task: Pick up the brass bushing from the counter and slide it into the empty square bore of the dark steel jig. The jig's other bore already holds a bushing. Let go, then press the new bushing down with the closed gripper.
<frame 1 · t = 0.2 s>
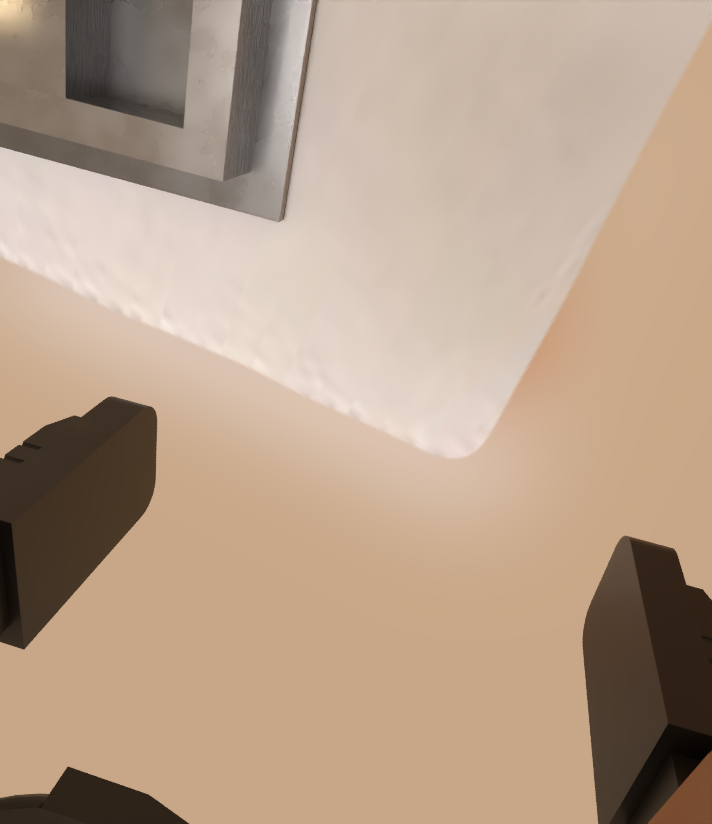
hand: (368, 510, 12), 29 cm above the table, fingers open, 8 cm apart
jig: (79, 22, 37), on the table
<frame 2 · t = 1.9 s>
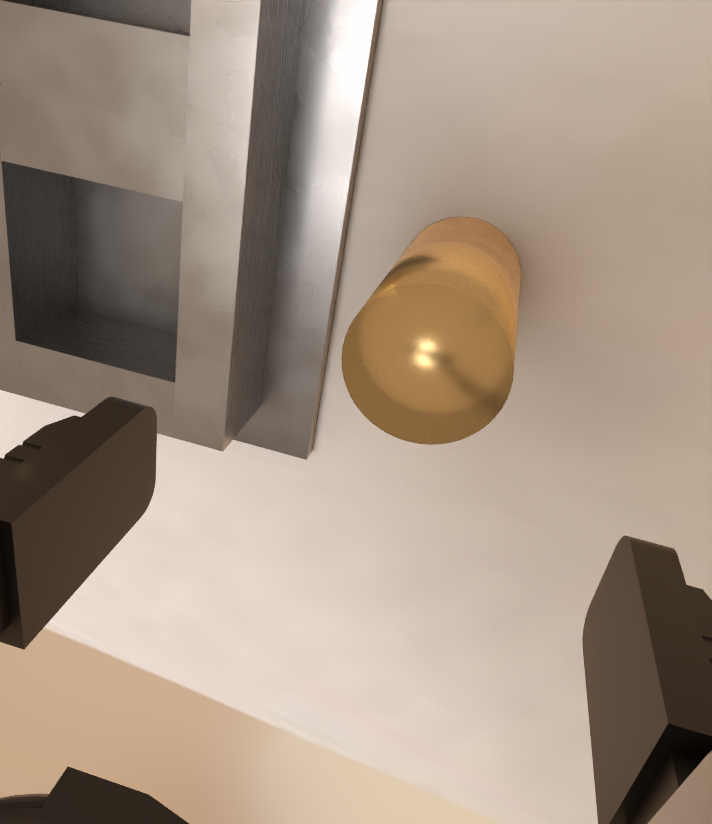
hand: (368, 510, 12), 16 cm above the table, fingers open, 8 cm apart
jig: (164, 99, 25), on the table
bushing: (459, 277, 25), on the table
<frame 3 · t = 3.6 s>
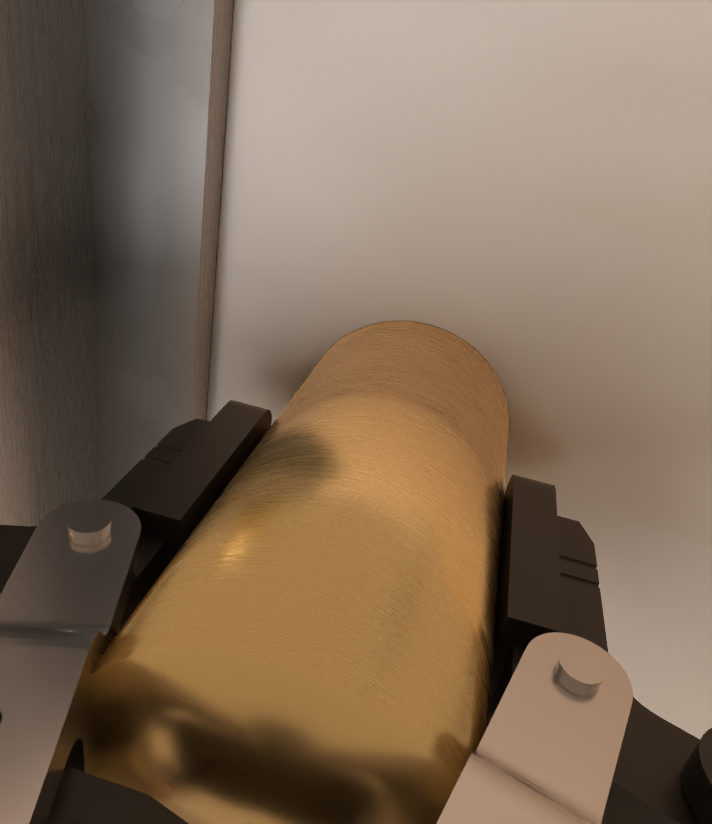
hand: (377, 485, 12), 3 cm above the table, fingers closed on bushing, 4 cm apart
bushing: (404, 418, 15), on the table, touching gripper
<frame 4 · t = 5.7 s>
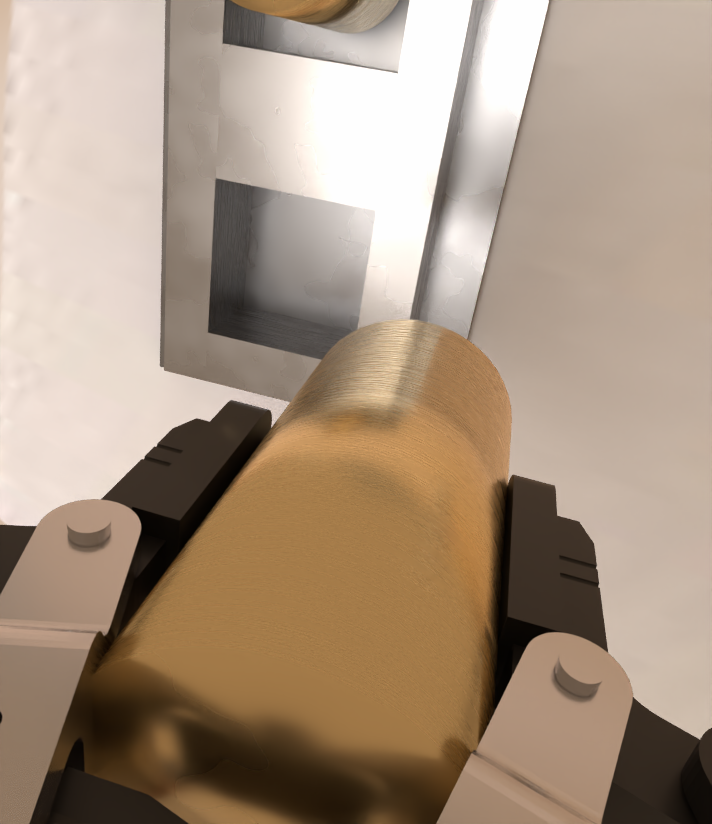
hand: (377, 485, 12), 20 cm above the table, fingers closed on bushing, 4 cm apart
jig: (336, 122, 29), on the table
bushing: (406, 417, 15), point 17 cm above the table, touching gripper
when the fingers open (6 cm above the table, at t = 8.2 s): bushing drops 2 cm, resting on jig.
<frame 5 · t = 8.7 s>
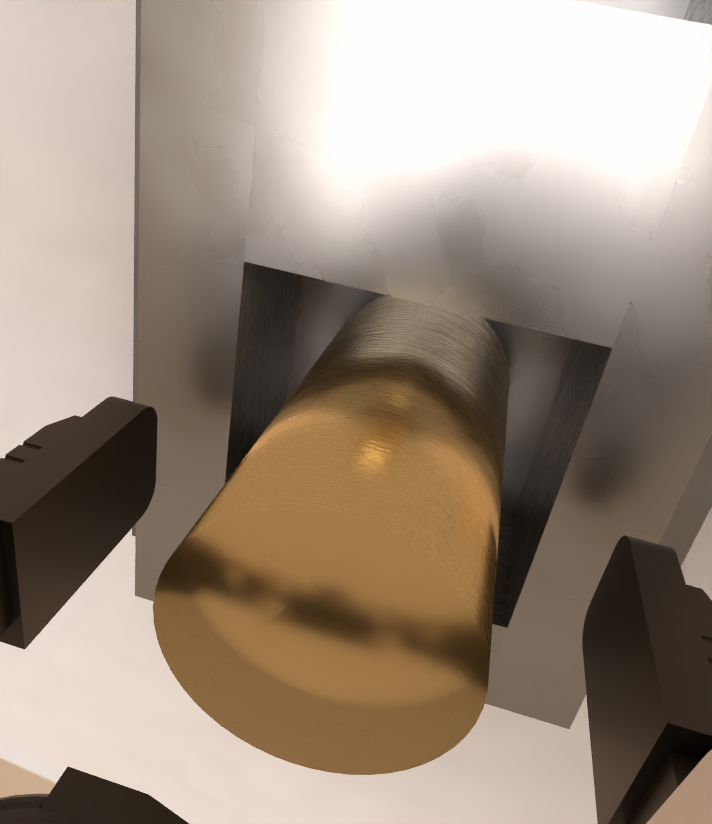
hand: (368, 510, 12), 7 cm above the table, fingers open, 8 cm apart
jig: (475, 136, 15), on the table
bushing: (416, 378, 16), point 1 cm above the table, touching jig
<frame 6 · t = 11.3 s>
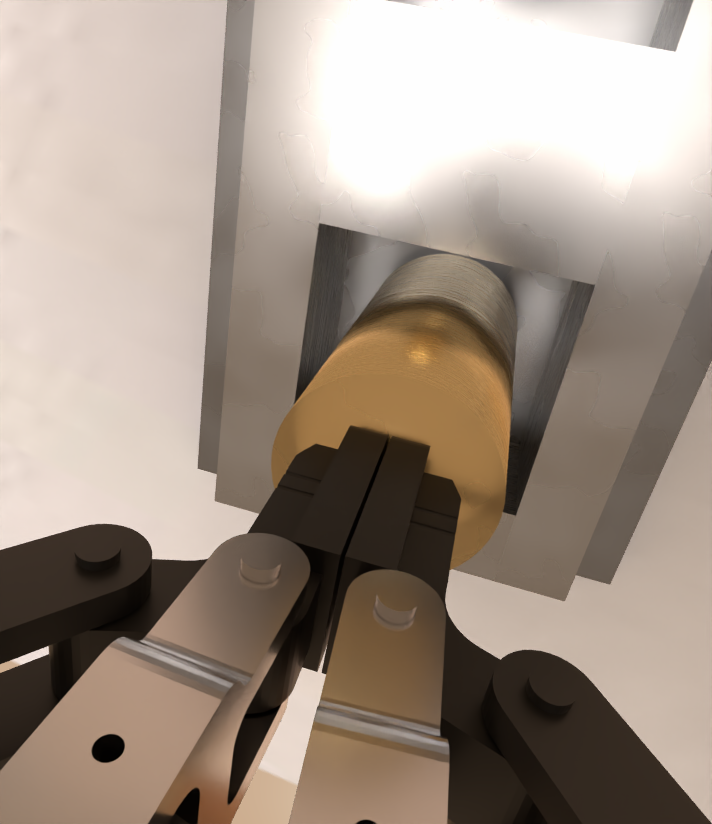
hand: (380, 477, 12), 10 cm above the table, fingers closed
jig: (491, 130, 18), on the table
bushing: (442, 326, 20), point 1 cm above the table, touching gripper, jig
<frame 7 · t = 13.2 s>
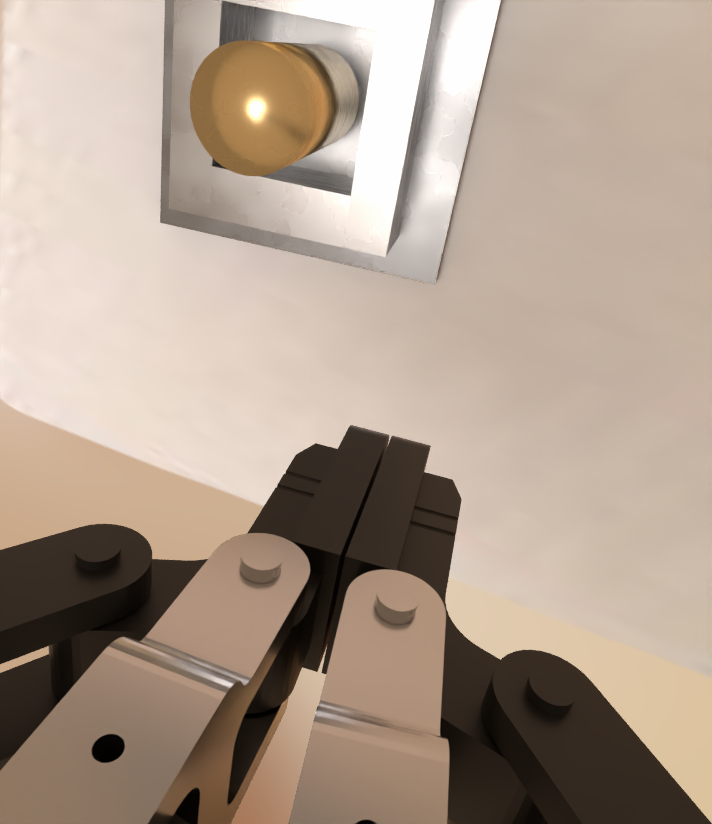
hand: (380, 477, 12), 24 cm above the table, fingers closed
bushing: (313, 97, 32), point 1 cm above the table, touching jig
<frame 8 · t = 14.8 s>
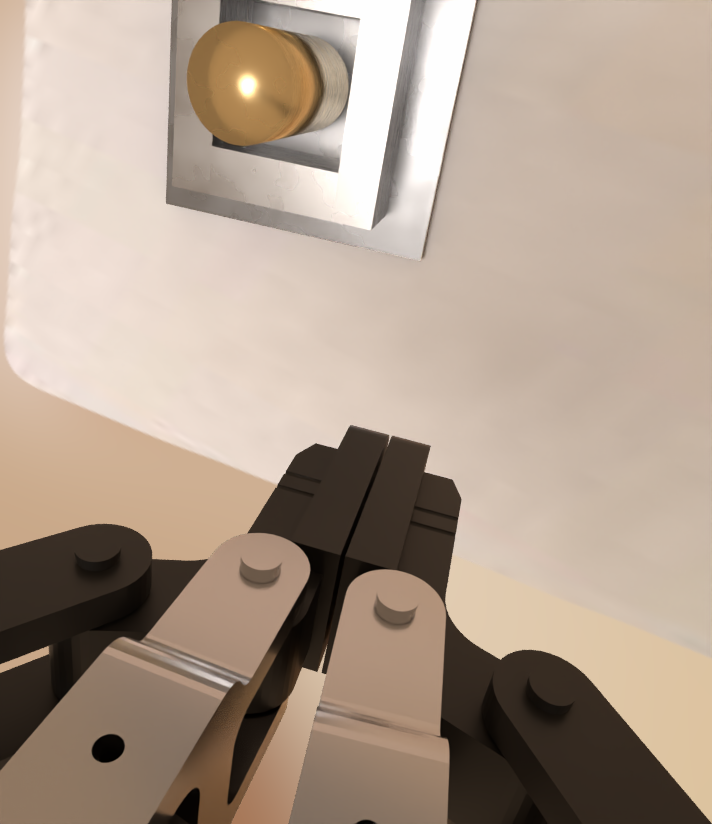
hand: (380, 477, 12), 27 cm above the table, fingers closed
bushing: (306, 84, 34), point 1 cm above the table, touching jig
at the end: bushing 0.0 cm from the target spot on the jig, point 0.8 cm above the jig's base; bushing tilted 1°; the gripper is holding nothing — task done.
